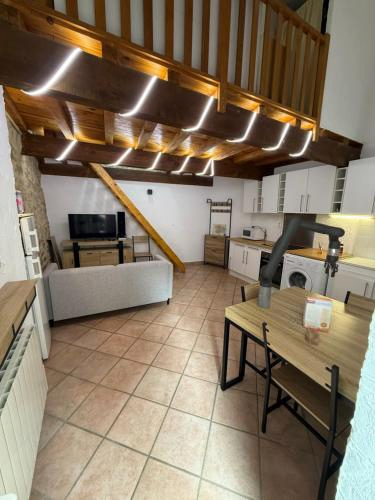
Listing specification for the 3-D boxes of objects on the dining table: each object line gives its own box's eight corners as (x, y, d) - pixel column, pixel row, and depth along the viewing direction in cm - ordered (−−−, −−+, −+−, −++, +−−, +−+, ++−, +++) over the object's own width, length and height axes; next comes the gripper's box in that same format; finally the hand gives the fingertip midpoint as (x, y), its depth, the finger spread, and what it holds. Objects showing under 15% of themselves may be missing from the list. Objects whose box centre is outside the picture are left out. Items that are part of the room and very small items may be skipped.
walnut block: (308, 344, 116) (310, 333, 115) (304, 339, 121) (306, 328, 120) (317, 345, 115) (319, 334, 114) (313, 340, 120) (315, 329, 119)
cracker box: (325, 328, 134) (330, 298, 130) (328, 332, 128) (333, 302, 124) (301, 323, 139) (306, 294, 135) (303, 327, 133) (307, 298, 129)
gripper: (322, 252, 156) (319, 272, 159) (332, 256, 142) (328, 277, 145) (333, 252, 155) (329, 273, 158) (344, 256, 141) (340, 278, 144)
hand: (329, 275), depth 152 cm, fingers open, 8 cm apart
